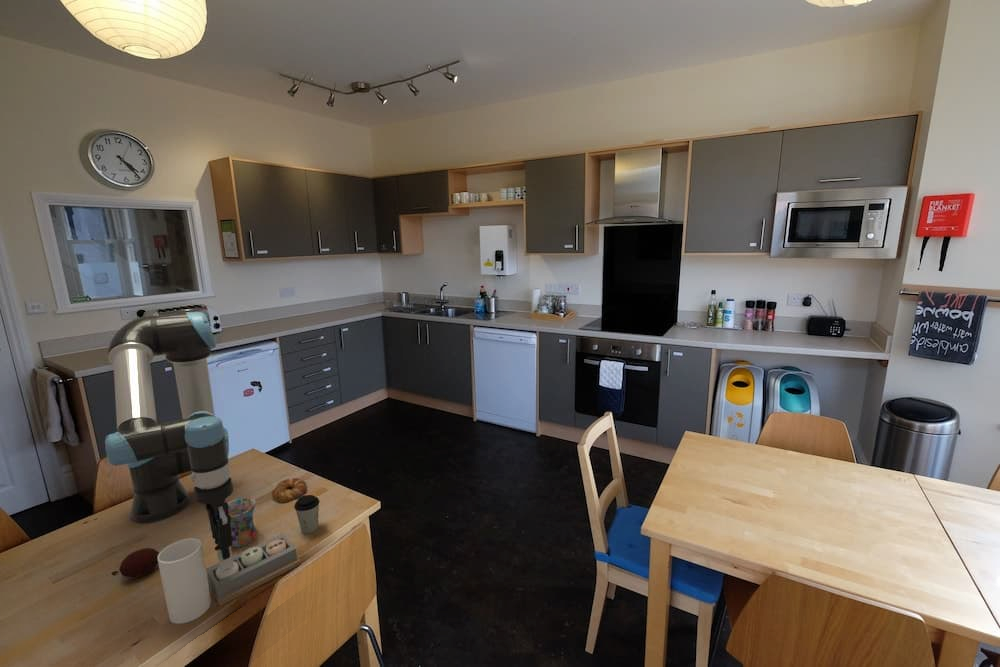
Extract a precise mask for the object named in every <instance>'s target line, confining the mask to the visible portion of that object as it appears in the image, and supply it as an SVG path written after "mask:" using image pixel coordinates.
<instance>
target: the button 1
mask: <svg viewBox="0 0 1000 667" xmlns="http://www.w3.org/2000/svg"><path fill="white" fill-rule="evenodd" d="M233 565H234V566H233V567H230V568H228V569H226V570H224V571H222V572H221V570H220V567H218V568H217V570H216V577H217V581H220V580H222V579H224V578H226V577H229V576H231V575H233V574H235V573H237V572H239V568H238V563H237V562H234V561H233Z"/></svg>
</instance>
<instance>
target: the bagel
mask: <svg viewBox="0 0 1000 667" xmlns="http://www.w3.org/2000/svg"><path fill="white" fill-rule="evenodd" d="M306 491H307V483H306V482H305V481H304V480H302V479H301V478H298V477H296V478H295V477H294V478H291V479H289V478H287V479H284V480H281V481H280V482H278V483H277V485H276V486H275V488H274V489H273V490H272V493H271V497H272V499H273V500H274V501H276V502H277V503H279V504H280V503H281V504H286V503H289V502H292V501H293V500H296V499H297V500H298V499H299V498H300V497H302V496H303V495H304V494H306Z"/></svg>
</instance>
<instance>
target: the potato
mask: <svg viewBox="0 0 1000 667" xmlns="http://www.w3.org/2000/svg"><path fill="white" fill-rule="evenodd" d="M159 553H160V552H159V551H158V550H156V549H155V548H152V547H151V548H150V547H147V548H146V547H145V548H140V549H137V550H134V551H132V552H131V553H128V555H126V556H125V557H124V558H123V559H122V561H121V563H120V565H119V573H120V574H121V576H123V577H125V578H129V579H131V578H138V577H140V576H144V575H146V574H148V573H149V572H151V571H152V570H154V569H155V568H156V567H157V566H159V564H158V555H159Z"/></svg>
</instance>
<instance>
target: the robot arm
mask: <svg viewBox="0 0 1000 667" xmlns="http://www.w3.org/2000/svg"><path fill="white" fill-rule="evenodd" d="M216 347H217V344H216V341H215V337H214V333H213V331H212V327H211V324H210V321H209V318H208V317H207V314H205V313H204V312H201V311H200V312H199V311H198V312H196V311H195V312H188V311H187V312H179V313H178V312H177V313H169V314H160V315H159V314H158V315H145V316H140V317H138V318H135V319H132V320H131V321H129V322H128V323H127V322H126V324H124V325H123V326H122V327H120V329H118V331H117V332H116V333H115V334H114V336H113V337H112V339H111V340H110V342H109V345H108V349H107V358H108V362H109V363H110V364H111V365H112V366H113V377H114V395H115V398H114V399H115V415H116V430H117V431H116V432H113V433H110V434H108V435H106V436H105V439H104V440H105V441H104V445H105V452H106V453H105V454H106V458H107V461H108V462H109V464H110V465H112V466H113V467H114V466H116V467H117V466H123V465H127V467H128V469H129V474H130V478H131V484H132V488H133V499H132V502H131V503H132V504H131V508H130V516H131V517H130V518H131V520H132V521H133V522H135V523H141V524H144V523H145V524H146V523H153V522H158V521H161V520H165V519H167V518H169V517H172V516H174V515H176V514H178V513H180V512H181V511H182V510H184V509H185V508H187V507H188V505H189V503H190V500H191V499H190V496H189V493H188V491H187V490H186V488H185V487H184V485H183V484H182V482H181V481H180V478H179V477H180V475H183V474H186V473H191V474H190V475H189V476H188V477H189V479H190V480H192V481H193V486H194V490H193V491H194V493H195V494H194V496H195V501H196V502H197V503H198V504H201V505H205V510H206V511H207V517H208V519H209V525H210V528H211V529H210V530H211V534H212V538H213V539H214V544H215V547H214V550H215V551H216V554H217V560H218V563H219V567H220V570H221V572H222V571H224V570H226V569H228V568H230V567H233V566H234V565H233V558H232V557H233V553H232V547H231V546H232V544H233V543H232V534H231V516H230V515H228V502H227V501H226V499H227V498H229V497H230V496H231V495H232V493H233V491H234V488H233V487H234V486H233V481H232V477H231V476H232V475H231V466H230V460H229V452H230V442H229V432H228V429H227V428H226V427H224V425H223V420H222V419H221V418H220V417H218V416H216V414H215V408H214V402H213V394H212V388H211V381H210V375H209V373H210V372H209V366H208V361H207V360H208V358H209V357H210V356H211V355H212V350H213V349H215V348H216ZM162 355H163V356H164V355H165V360H166V361H168V362H169V363H171V364H173V370H174V376H175V381H176V387H177V393H178V399H179V404H180V410H181V416H182V419H178V420H173V421H168V422H163V423H158V421H157V419H158V418H157V413H156V405H155V404H156V403H155V395H154V388H153V380H152V379H153V378H152V371H151V362H152V360H153V359H154V356H162Z"/></svg>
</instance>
